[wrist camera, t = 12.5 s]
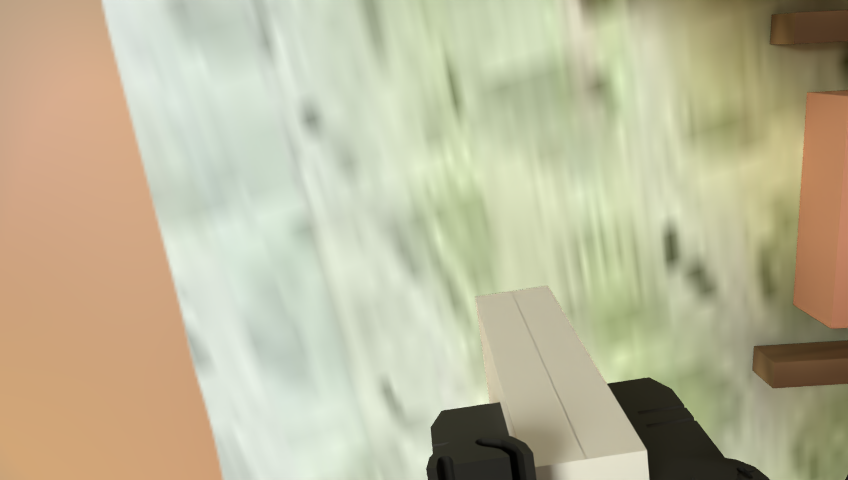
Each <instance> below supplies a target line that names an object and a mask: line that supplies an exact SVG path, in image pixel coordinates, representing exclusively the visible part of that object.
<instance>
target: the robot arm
mask: <svg viewBox="0 0 848 480" xmlns="http://www.w3.org/2000/svg"><path fill="white" fill-rule="evenodd" d="M475 300H476V307H477V315H478V322H479V329H480V336H481V344H482V351H483V358H484V365H485V373H486V380H487V387H488V394H489V402H490V404H484V405H477V406H471V407H464V408H457V409H450V410H444V411H441V413H440V414H439V416H438V417H437V419H436V420H435V422H434V423H433V425H432V426H431V436H432V447H433V455H432V456H431V457H430V458H429V461H428V465H427V468H426V470H427V476H428V480H769V478H768V477H767V476H765V475H764V474H763V473H762V472H760V471H759V470H758V469H757V468H755V467H754V466H751V465H749V464H746V463H744V462H741V461H738V460H735V459H729V458H725V457H724V456H723V454H722V453H721V452H720V451H719V449H718V448H717V447H716V445H715V444H714V443H713V442H712V440H711V439H710V438H709V436H708V435H707V434H706V433H705V431H704V430H703V429H702V427H701V426H700V425H699V424H698V422H697V421H694V417H693V416H692V415H691V413H690V412H689V411H688V409H687V408H684V404H683V403H682V402H681V400H680V399H679V398H678V397H677V395H676V394H675V393H674V391H673V390H672V389H671V388H669V387H667V386H665V385H663V384H661V383H659V382H657V381H655V380H653V379H651V378H642V379H635V380H629V381H622V382H615V383H609V384H607V383H606V381H605V380H604V378H603V377H602V375H601V373H600V372H599V370H598V368H597V367H596V365H595V363H594V362H593V360H592V358H591V357H590V355H589V353H588V352H587V350H586V348H585V347H584V345H583V343H582V342H581V340H580V338H579V337H578V335H577V333H576V332H575V330H574V328H573V327H572V325H571V323H570V322H569V320H568V318H567V317H566V315H565V313H564V312H563V310H562V308H561V307H560V305H559V303H558V302H557V300H556V298H555V297H554V295H553V293H552V292H551V290H550V288H549V287H548V286H542V287H535V288H528V289H522V290H515V291H508V292H502V293H495V294H488V295H482V296H475ZM845 480H848V475H847V477H846V479H845Z"/></svg>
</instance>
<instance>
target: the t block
mask: <svg viewBox="0 0 848 480" xmlns="http://www.w3.org/2000/svg"><path fill="white" fill-rule="evenodd" d="M793 305H794V306H796V307H798V308H799V309H801V310H802V311H804V312H806V313H807V314H809V315H810V316H812V317H813V318H815V319H817V320H818V321H820V322H821V323H823V324H825V325H826V326H828V327H829V328H831V329H833V328H848V90H844V91H825V92H807V102H806V118H805V133H804V148H803V163H802V178H801V194H800V209H799V224H798V239H797V255H796V270H795V285H794V300H793Z"/></svg>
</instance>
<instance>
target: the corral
mask: <svg viewBox="0 0 848 480" xmlns="http://www.w3.org/2000/svg"><path fill="white" fill-rule="evenodd" d="M840 41H848V10H836V11H816V12H796V13H785V14H775V15H772V20H771V38H770V44H801V43H820V42H840ZM753 371H754V372H755V373H756V374H757V375H758V376H760V377H761V378H762V379H763V380H764V381H765V382H766V383H768V384H769V385H770V386H771V387H772V388H785V387H801V386H816V385H832V384H848V341H831V342H815V343H799V344H783V345H766V346H754V355H753Z"/></svg>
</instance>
